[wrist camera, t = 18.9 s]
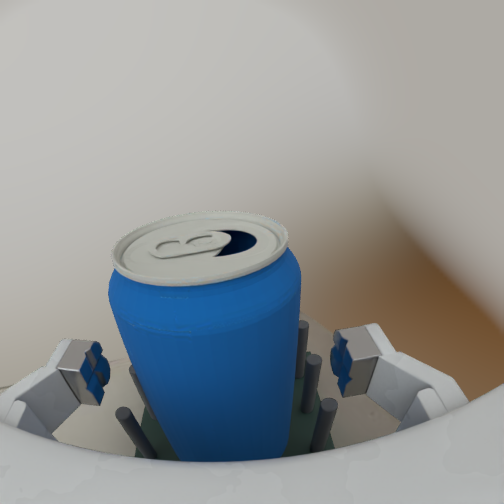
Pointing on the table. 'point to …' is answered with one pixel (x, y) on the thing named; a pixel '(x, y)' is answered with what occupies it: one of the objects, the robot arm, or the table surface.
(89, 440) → the table surface
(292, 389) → the beverage can
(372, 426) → the table surface
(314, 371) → the drying rack
